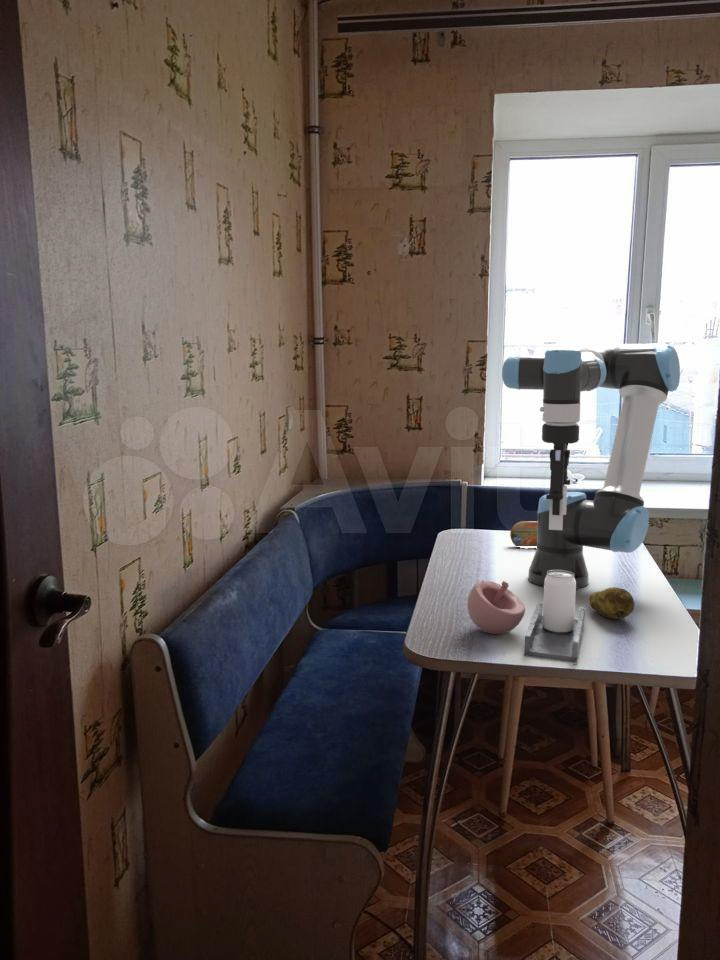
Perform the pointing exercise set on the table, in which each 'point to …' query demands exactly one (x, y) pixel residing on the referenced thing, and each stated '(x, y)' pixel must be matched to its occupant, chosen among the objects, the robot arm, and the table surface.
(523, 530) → the tin
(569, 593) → the can
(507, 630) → the mortar and pestle
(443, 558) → the table surface
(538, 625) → the track
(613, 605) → the potato
